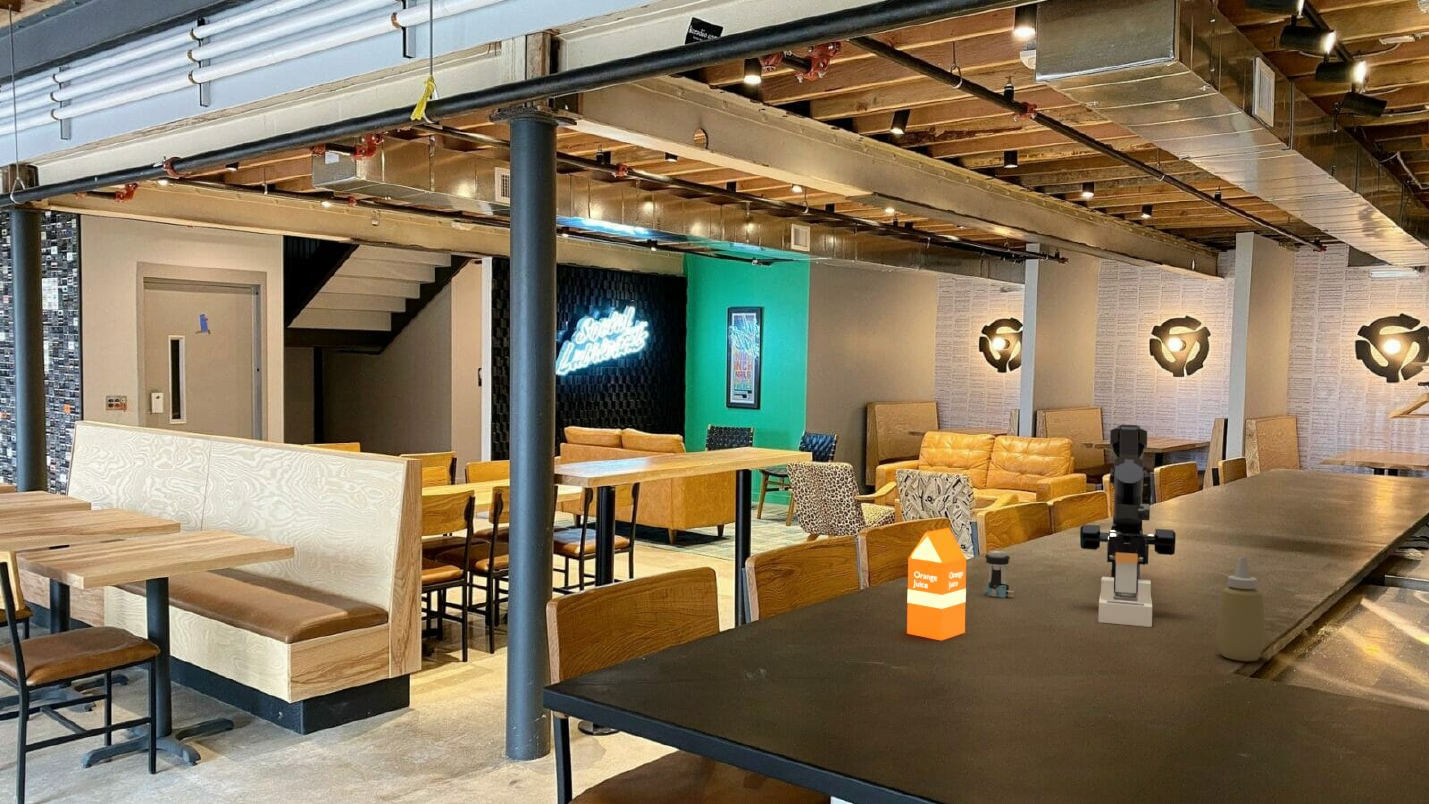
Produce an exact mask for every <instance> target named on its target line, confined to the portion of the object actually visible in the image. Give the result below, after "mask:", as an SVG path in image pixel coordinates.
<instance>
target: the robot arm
mask: <svg viewBox="0 0 1429 804" xmlns="http://www.w3.org/2000/svg"><path fill="white" fill-rule="evenodd" d="M1109 434H1110V435H1109V437H1110V438H1109V449H1112V458H1113V459H1114V460H1113V467H1111V468H1110V472H1109V484H1110V485H1112V486H1113V489H1114V496H1113V516H1112V525H1111V527H1110V530H1109V531H1108V532H1104V531H1103V532H1102V531H1101V525H1097V524H1082V525H1080V527H1079V529H1080V531H1079V536H1080V537H1079V540H1080V544H1079V545H1080V548H1081V549H1082V550H1092V551H1093V550H1094V551H1095V550H1098V549H1099V548H1100V547H1101V543H1107V547H1106V548H1107V551H1106V552H1107V554H1106V555H1107V556H1106V562H1107V563H1111V569H1110V571H1111V573H1110V577H1113V578H1114V590H1115V581H1116V562H1115V559H1116V552H1119V553H1133V554H1138V559H1137V580H1136V591H1138V579H1139V580H1141V578H1140V577H1141V565H1143V566H1145V565H1149V550H1150V546H1154V552H1155V553H1157V554H1158V555H1166V556H1172V555H1175V552H1176V532H1175V531H1174V530H1173V529H1165V528H1155V529H1154V534H1146V533H1145V534H1144V532H1143V531H1144V530H1143V521H1150V519H1151V517H1150V516H1151V515H1150V513H1151V512H1150V511H1151V509H1150V508H1151V504H1150V503H1143V491H1144V486H1147V487H1148V484H1149V483H1150V482H1151V475H1150V474H1149V472H1148V469H1145V467H1144V466H1145V464H1144V462H1145V461H1144V460H1143V459H1144V452H1145V450H1147V449H1148V431H1147V430H1145V429H1143V428H1141V426H1139V425H1138V424H1120V425H1117V427H1116V428H1113V429H1110V431H1109Z"/></svg>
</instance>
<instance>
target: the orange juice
mask: <svg viewBox="0 0 1429 804" xmlns="http://www.w3.org/2000/svg"><path fill="white" fill-rule="evenodd" d="M907 560H908V562H907V563H908V564H907V565H908V567H907V568H908V569H907V597H906V598H907V601H906V602H907V611H906V612H907V617H906V619H907V620H906V621H907V623H906V634H908V635H913V636H918V637H924V638H928V639H933V640H937V641H944V640H947V639H950V638H954V637H955V636H958V635H961V634H965V633H966V601H967V599H966V597H967V587H966V583H967V582H966V581H967V579H966V578H967V557H966V556H965V554H964V553H963V551H962V549H961V547H960V545H959V544H958V541H957V539H956V538H955V536H954V534H953V533H952V531H951V529H950V527H946V528H940V529H935V530H930V531H926V532H925V533H924V534H923V536H922V537H921V539H920V541H919V542H918V543H917V545H916V546H915V547H914V549H913V551H912V552H911V554H910V555H909V556H908V559H907Z"/></svg>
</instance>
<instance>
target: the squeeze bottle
mask: <svg viewBox="0 0 1429 804" xmlns="http://www.w3.org/2000/svg"><path fill="white" fill-rule="evenodd" d="M1257 586H1258V579H1257V578H1255V577H1253V576H1251V572H1250V568H1249V563H1248V559H1247V557H1246V556H1239V557H1238V560H1237V563H1236V568H1235V572H1234V575H1228V576H1227V587H1225V588H1223V589H1222V590H1221V595H1220V604H1219V609H1218V616H1217V617H1218V618H1217V623H1216V624H1217V625H1216V632H1215V637H1216V640H1217V643H1218V646H1219V650H1220V653H1221V655H1222V656H1223V657H1225V659H1226V658H1227V659H1230V660H1233V661H1239V662H1255V661H1259V659H1260V657H1261V654H1262V652H1263V650H1264V646H1265V644H1266V641H1267V635H1266V633H1267V632H1266V623H1265V621H1266V620H1265V612H1264V611H1265V610H1264V599H1263V597H1264V596H1263V593H1262V592H1261V591H1260V590H1258V589H1257Z"/></svg>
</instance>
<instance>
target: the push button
mask: <svg viewBox="0 0 1429 804" xmlns="http://www.w3.org/2000/svg"><path fill="white" fill-rule="evenodd" d="M984 558H985V562H986V564H987V563H988V566H989V567H988V569H989V571H988V579H987V581H988V583H985V593H984V594H985V595H986V596H989V597H996V598H1003V599H1004V598H1007V597H1015V595H1013V594H1010V593H1014V592H1015V591H1013V590H1010V586H1009V584H1007V581H1006V567H1007V566H1006V565H1008V564H1010V563H1009V561H1010V558H1011V557H1010V556H1009V555H1007V552H1006V551H1003V550H989V553H988V554H985V556H984Z"/></svg>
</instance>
